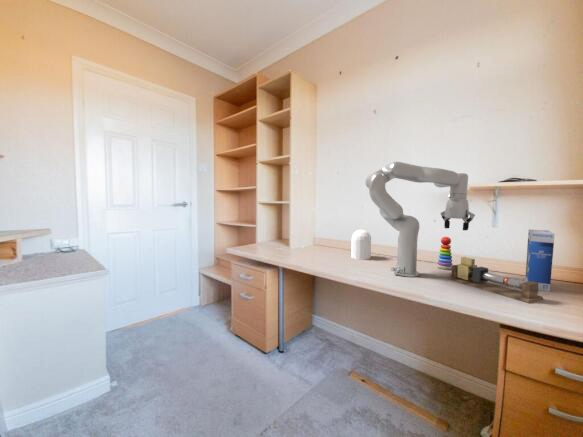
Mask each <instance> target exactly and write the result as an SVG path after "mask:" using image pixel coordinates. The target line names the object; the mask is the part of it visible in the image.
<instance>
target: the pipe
mask: <svg viewBox="0 0 583 437" xmlns="http://www.w3.org/2000/svg"><path fill="white" fill-rule="evenodd" d="M469 276H472V277H473V269H471V268H470V270H469ZM481 279H484V280H487V282H490V283H494V284H498V285H499V284H500V285H501V286H504V287H508V288H513V289H517V290H520V291H522V283H524V282H526V281H525V280H520V279H518V278H517V279H516V278H512V277H509V276H504V275H500V274H495V273H491V272H489V271H488V272H484V271H481Z"/></svg>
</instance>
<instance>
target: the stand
mask: <svg viewBox="0 0 583 437" xmlns="http://www.w3.org/2000/svg"><path fill="white" fill-rule="evenodd" d="M457 273H458V264H452V269H451V276H446V280H449V281H452V282H453V281H454V282H456V283H459V284H463V285H466V286H470V287H474V288H476V289H480V290H483V291H487V292H491V293H493V294H497V295H500V296H503V297H506V298H510V299H514V300H517V301H520V302H523V303H527V304H530V303H534V302H538V301H541V300H543V299H544V298H543V296H540V295H539V290H538V283H537V282H533V281H528V282H524V283H522V290H520V289H516V288H513V287H509V286H505V285H501V284H500V285H499V284H498V283H494V282H490V281H487V282H481V283H478V282H474V281H472V280H465V279H461V278H458V277H457Z"/></svg>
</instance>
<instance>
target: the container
mask: <svg viewBox="0 0 583 437" xmlns="http://www.w3.org/2000/svg"><path fill="white" fill-rule="evenodd" d="M350 241H351V244H350V245H351V250H350V254H351V255H350V257H351V259H353V258H354V260H361V261H362V260H367V261H368V260H370V259H371V258H372V256H371V255H372V236H371V234H370V232H369V231H367V230H366V229H356V231H354V232H353V233H352V235H351V240H350Z"/></svg>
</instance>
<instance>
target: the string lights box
mask: <svg viewBox="0 0 583 437" xmlns="http://www.w3.org/2000/svg"><path fill="white" fill-rule="evenodd" d="M554 244H555V233H553V232H551V231H550V230H548V229H547V230H546V229H528V235H527V247H526V250H527V251H526V263H525V264H526V265H525V278H524V281H526V282H528V281H533V282H537V283H538V291H542V292H543V291H544V292H549V293H550V292H551V281H552V268H553V257H554V247H555V246H554Z"/></svg>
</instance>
